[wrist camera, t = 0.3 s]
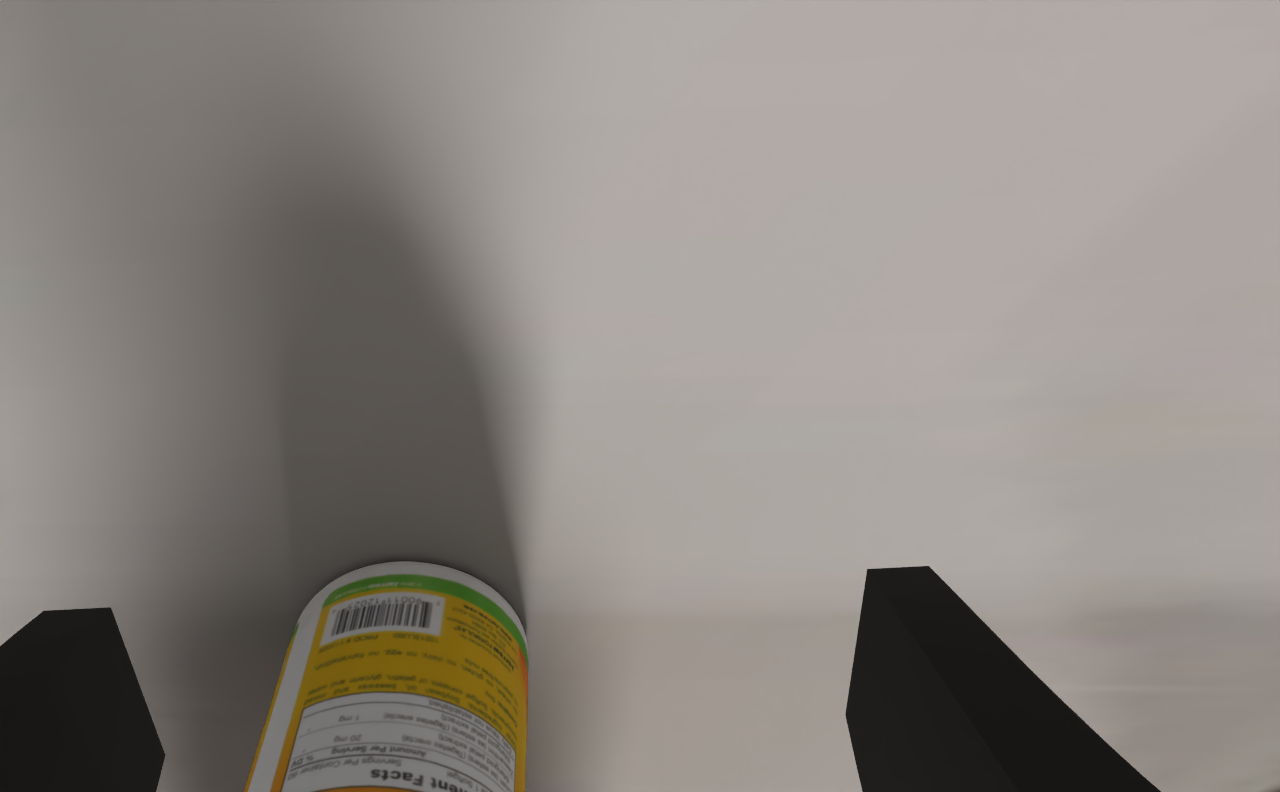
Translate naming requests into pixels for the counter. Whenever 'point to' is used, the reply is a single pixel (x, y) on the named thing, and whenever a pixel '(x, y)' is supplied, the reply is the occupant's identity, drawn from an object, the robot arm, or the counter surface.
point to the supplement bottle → (399, 688)
